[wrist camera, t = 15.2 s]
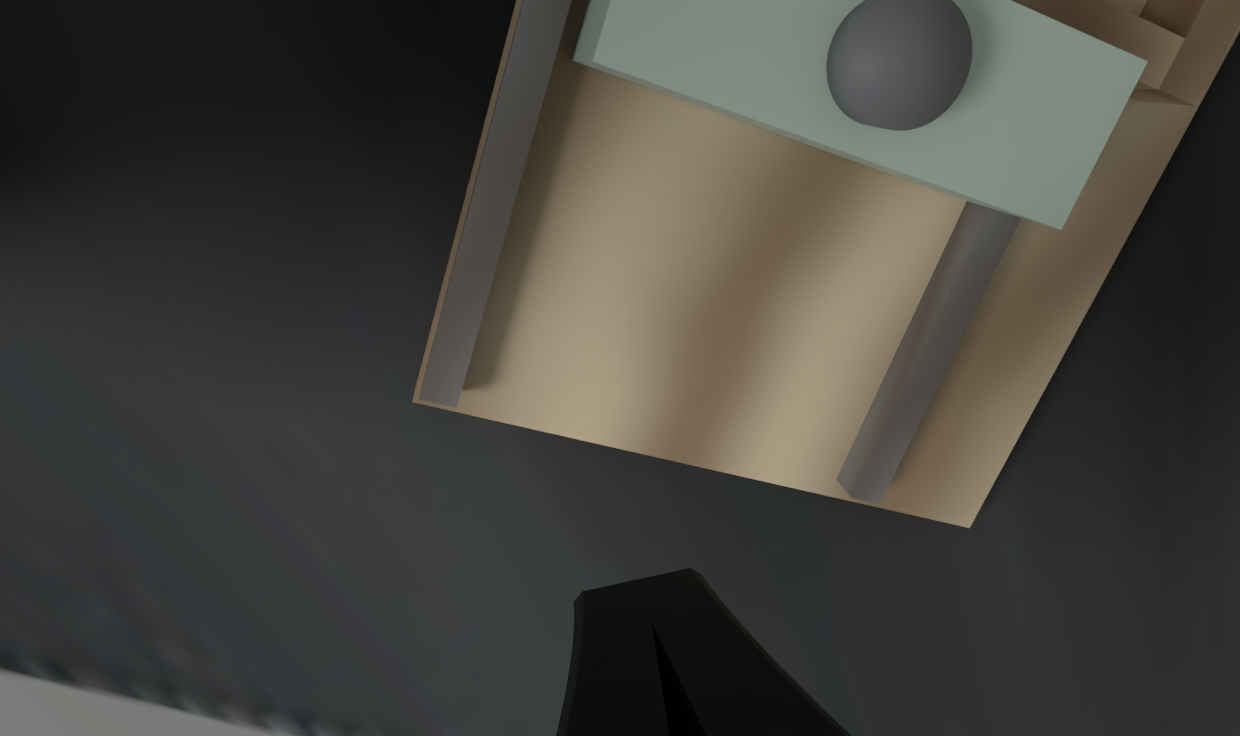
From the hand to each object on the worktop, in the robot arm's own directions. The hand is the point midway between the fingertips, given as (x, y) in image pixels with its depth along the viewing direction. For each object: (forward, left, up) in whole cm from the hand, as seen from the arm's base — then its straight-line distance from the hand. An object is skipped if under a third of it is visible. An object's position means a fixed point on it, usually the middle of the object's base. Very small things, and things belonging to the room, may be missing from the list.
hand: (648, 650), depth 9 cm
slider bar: (+3, +7, -9) cm, 12 cm away
